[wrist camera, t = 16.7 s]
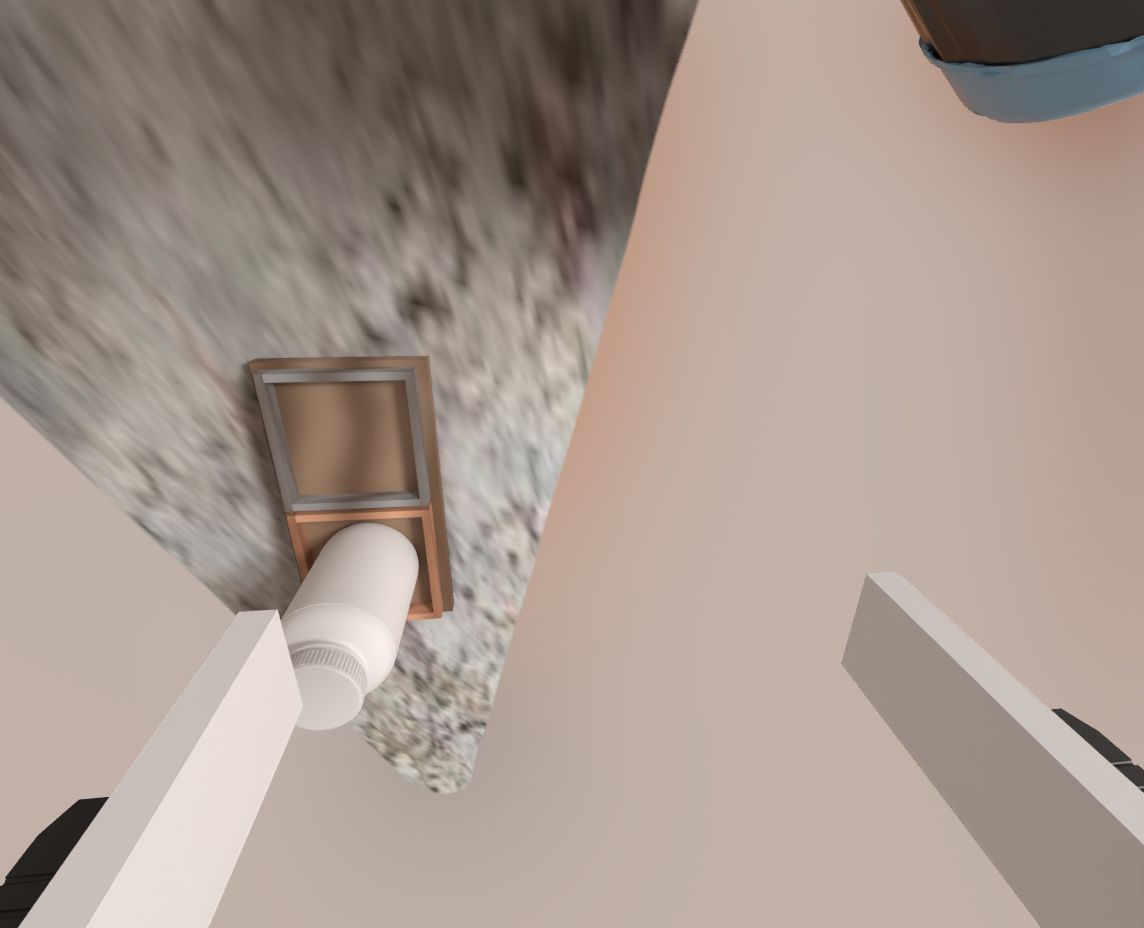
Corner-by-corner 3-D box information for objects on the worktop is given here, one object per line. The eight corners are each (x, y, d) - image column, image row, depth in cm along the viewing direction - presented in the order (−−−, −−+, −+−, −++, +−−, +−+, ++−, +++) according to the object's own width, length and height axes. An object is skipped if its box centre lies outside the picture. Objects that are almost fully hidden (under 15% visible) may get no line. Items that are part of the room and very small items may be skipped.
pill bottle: (427, 527, 45) (391, 659, 31) (413, 603, 48) (375, 754, 34) (327, 510, 43) (244, 641, 30) (319, 590, 46) (240, 743, 33)
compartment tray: (428, 355, 40) (423, 364, 38) (453, 602, 50) (450, 621, 47) (255, 358, 39) (238, 367, 37) (314, 610, 49) (304, 631, 46)
